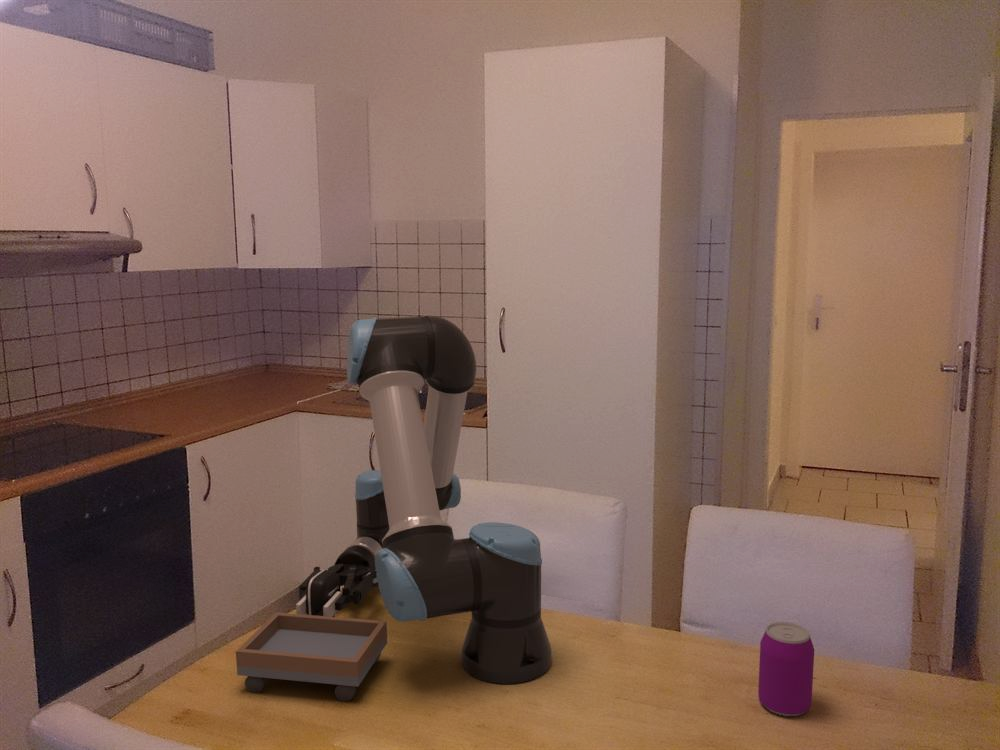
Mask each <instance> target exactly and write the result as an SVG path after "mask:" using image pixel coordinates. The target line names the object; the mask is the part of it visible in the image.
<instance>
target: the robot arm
mask: <svg viewBox="0 0 1000 750" xmlns="http://www.w3.org/2000/svg"><path fill="white" fill-rule="evenodd" d="M346 352H347V355H346V377H347V383H349V385H353V386H358V392H359V395H360V396H361V398H363V399H364V400H366V401H368V402H369V406H370V413H371V418H372V419H371V420H372V425H373V426H372V427H373V431H374V438H375V444H376V452H377V456H378V464H379V470H375V469H374V470H366V471H363V472H361V473H359V474H358V475H357V476H356V478H355V494H354V496H355V497H354V498H355V507H356V508H355V511H356V512H355V513H356V539H355V540H353V542H351V544H349V545H348V546H347V547H346V549H344V551H342V553H341V554H339V556H338V557H337V558H336V561H335V562H334V564H333V565H331V566H330V567H328V568H327V570H328V571H334V572H336V573H338V575H339V579H340V587H341V591H340V592H338V591H337V592H336V593H335V594H334V596H333V597H332V598H331V599H330V600H329V601H328V602H327V603H326V604H325V605H324V607H323V615H324V616H328V617H333V615H334V616H335V614H336V613H337V612H338V611H342V610H343V609H344V608H345V607H346V606H348V605H350V603H353V604H354V605H359V604H361V602H363V600H364V599H365V598H366V597H367V596H368V595H369V594H370V592H372V590H373V589H374V588H375V587H377V586H378V590H379V592H380V595H381V599H382V601H383V604H384V607H385V609H386V610H387V612H388V615H390V616H391V618H393V619H394V620H395V621H397V622H401V623H402V622H405V623H406V622H413V621H419V622H424V621H426V620H427V619H432V618H438V617H444V616H445V617H446V616H449V615H450V616H451V615H456V614H457V615H458V614H464V613H469V612H471V619H470V622H469V626H468V628H467V631H466V634H465V638H464V640H463V645H462V648H461V664H462V667H463V669H464V671H466V672H467V673H468V674H469V675H471V676H472V677H473V678H476V679H478V680H481V681H484V682H489V683H493V684H502V685H503V684H509V685H511V684H520V683H525V682H529V681H533V680H535V679H538V677H540V676H541V677H542V675H544V674H546V672H548V670H549V669H550V668H551V666H552V646H551V643H550V639H549V637H548V634H547V631H546V627H545V625H544V622H543V619H542V564H543V559H542V554H541V553H542V551H541V542H540V540H539V537H538V536H537V535H536V534H535V533H534V532H533V531H531V530H529V529H527V528H525V527H523V526H519V525H515V524H512V523H505V522H496V521H495V522H494V521H493V522H482V523H478V524H477V525H473V526H472V527H471V529H470V531H469V533H468V534H469V535H468V536H469V537H466V538H459V539H455V537H454V531H453V527H452V526H451V525H450V524H449V523H447V522H446V521H444V520H443V519H442V517H441V512H440V511H444V510H447V509H453V508H456V507H457V506H459V505H460V502H461V499H462V496H461V495H462V493H461V491H462V490H461V489H462V488H461V482H460V480H459V476H457V474H455V473H454V470H455V464H456V458H457V453H458V452H457V451H458V446H459V441H460V436H461V432H462V431H461V429H462V425H463V419H464V414H465V408H466V403H467V397H468V392H469V391H471V390H472V389H473V387H474V386H475V382H476V375H477V361H476V356H475V352H474V349H473V347H472V344H471V342H470V340H469V339H468V337H467V336H466V334H464V331H462V329H461V328H460V327H458V325H456V324H455V323H453V322H452V321H450V320H448V319H447V318H444V317H440V316H436V315H424V316H409V317H408V316H405V317H402V316H401V317H382V318H378V317H373V318H366V319H358V320H355V322H353V323H352V325H351V327H350V330H349V335H348V342H347V351H346ZM425 383H426V384H427V386H428V389H427V391H428V392H427V399H426V405H425V406H426V407H425V413H424V420H423V417H422V416H423V415H422V410H421V404H420V401H419V400H420V398H419V392H420V391H421V390H422V389H423V387H424V386H425ZM320 570H323V569H322V568H321V567H320V566H315V567H313V571H312V572H311V573H310V575H309V576H307V577H306V578H305V580H303V581H302V583H300V585H298V597H299V598H298V602H297V603H296V604H295V610H296V611H295V612H296V613H295V614H303V615H307V611H306V583H307V581H308V579H309V578H310V577H312V576H313V575H314V574H316V573H317V572H318V571H320Z"/></svg>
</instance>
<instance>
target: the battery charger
mask: <svg viewBox="0 0 1000 750" xmlns="http://www.w3.org/2000/svg"><path fill="white" fill-rule="evenodd" d="M337 591H338V592H342V589H341V586H340V579H339V575H338V573H336V572H334V571H328V569H322V570H320V571H318V572H317V573H316V574H314V575H313V576H312V577H310V578H309V579H308V581H307V583H306V611H307V614H306V615H316V616H324V615H323V607H324V605H325V604H326V603H327V602H328V601H329V600H330V599H331V598H332V597H333V596H334V594H335V593H336V592H337ZM333 617H335V614H334V615H333Z"/></svg>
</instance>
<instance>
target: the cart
mask: <svg viewBox="0 0 1000 750" xmlns="http://www.w3.org/2000/svg"><path fill="white" fill-rule="evenodd" d="M387 630H388V629H387V620H376V619H365V618H364V619H363V618H362V619H361V618H350V617H338V616H334V617H328V616H316V615H307V614H306V615H303V614H296V613H289V612H288V613H286V612H277V611H276V612H274V614H272V615H271V616H270V617H269V618H268V619H267V620H266V621H265V622H264V623H263V624H262V625H261V626H260V627H259V628H258V629H257V630H256V631H255V632H254V633H253V634H252V635H251V636H250V637H249V638H247V640H246V641H245V642H244V643H243V644H242V645H240V647H239V648H238V649H236V650H235V658H236V659H235V661H236V662H235V663H236V676H243V677H246V678H245V681H244V685H245V688H246V689H247V690H248V691H249V692H250V693H254V694H257V693H259V692H261V691H262V690H263V689H264V688H265V687H266V684H267V679H275V680H286V681H295V682H297V681H298V682H305V683H316V684H328V685H336V686H335V688H334V695H335V696H336V699H338V700H339V701H340V702H343V703H347V702H351V700H352V699H353V698H354V696H355V695H356V694H357V693H356V692H357V688H356V687H359V686H360V684H361V683H362V681H363V680H364V679H365V677H366V676H367V674H368V673H369V671H370V670H371V668H372V666H373V665H374V664H375V663H376V662H378V660H379V658H380V657H381V654H382V652H383V651H384V649H385V647H386V646H387V645H388V631H387Z"/></svg>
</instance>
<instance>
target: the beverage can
mask: <svg viewBox="0 0 1000 750" xmlns="http://www.w3.org/2000/svg"><path fill="white" fill-rule="evenodd" d="M759 645H760V647H759V666H758V667H759V668H758V689H757V690H758V691H757V692H758V694H757V695H758V700H759V702H760V703H761V704H762V706H763V707H765V708H767V710H768V711H769V710H770V711H769V712H771V713H773V712H774V713H773V714H775V713H776V714H775V715H777V714H779V715H778V716H781V715H783V716H782V717H788V716H794V717H799V716H802V715H803V714H805V713H807V712H808V711H809V710H810V709H811V705H812V701H813V699H812V698H813V685H814V684H813V681H814V667H815V666H814V664H815V647H814V644H813V641H812V639H811V635H810V632H809V630H807V629H806V627H804V626H802V625H798V624H797V623H793V622H785V621H783V622H782V621H780V622H779V621H778V622H777V621H775V622H772V623H770V624H768V625H767V626H766V628H765V631H764V633H763V636H762V637H761V639H760V643H759ZM801 714H802V715H801ZM798 715H799V716H798Z"/></svg>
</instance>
